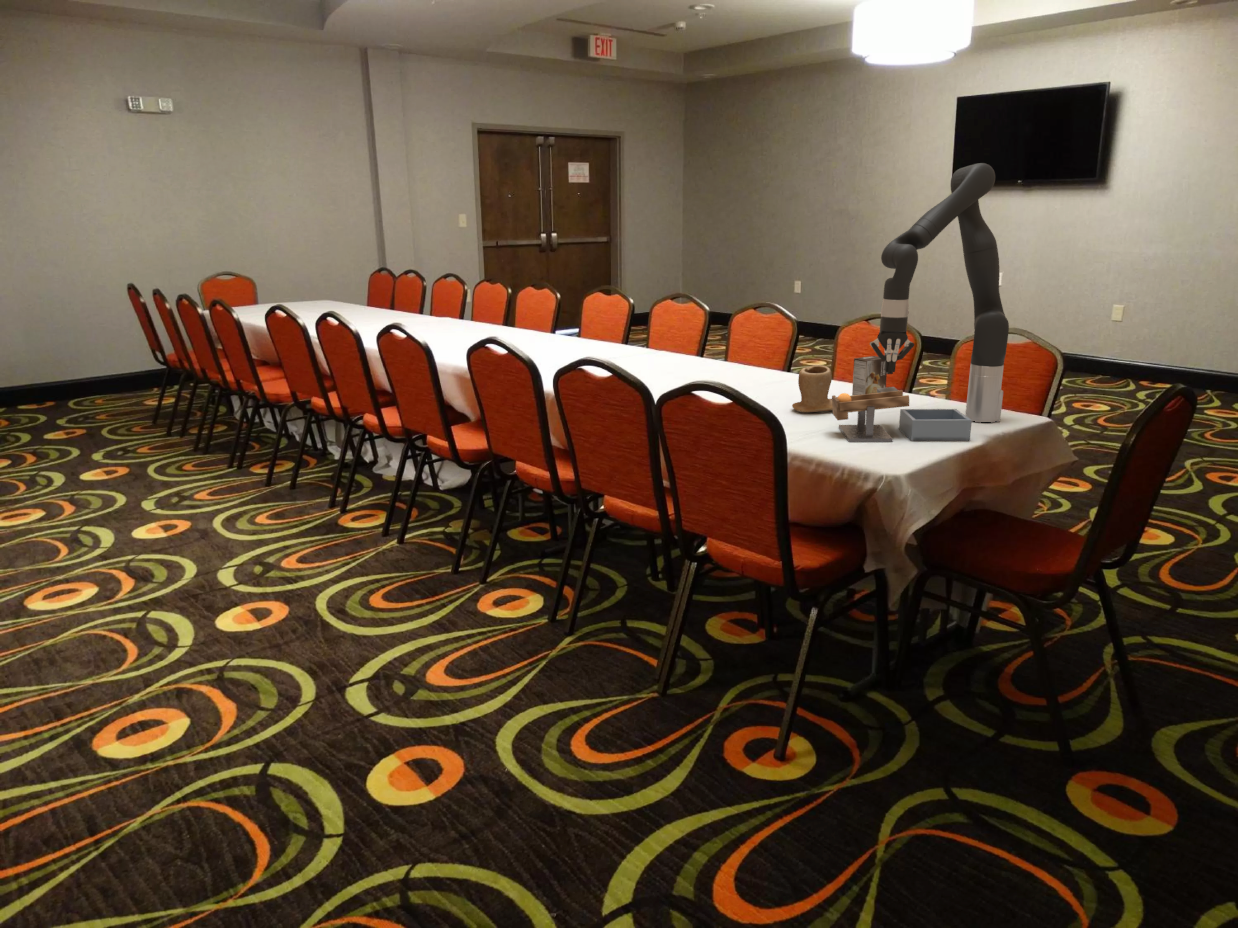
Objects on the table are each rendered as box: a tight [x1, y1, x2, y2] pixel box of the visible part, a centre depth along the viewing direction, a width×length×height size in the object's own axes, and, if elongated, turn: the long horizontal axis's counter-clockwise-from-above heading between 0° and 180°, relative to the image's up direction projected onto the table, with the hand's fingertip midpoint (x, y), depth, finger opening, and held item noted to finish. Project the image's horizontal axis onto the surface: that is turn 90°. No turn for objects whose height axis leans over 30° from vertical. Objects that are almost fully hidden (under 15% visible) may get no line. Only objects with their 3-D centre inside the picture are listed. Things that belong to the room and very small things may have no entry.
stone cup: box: [791, 364, 833, 413], centre depth 271 cm, size 15×12×15 cm
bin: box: [898, 408, 973, 442], centre depth 241 cm, size 16×14×6 cm
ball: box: [837, 392, 851, 402], centre depth 241 cm, size 4×4×4 cm
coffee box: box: [851, 355, 888, 396], centre depth 277 cm, size 9×6×16 cm
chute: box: [831, 386, 910, 421], centre depth 245 cm, size 20×18×6 cm
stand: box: [838, 406, 893, 443], centre depth 242 cm, size 12×16×10 cm
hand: (889, 373), depth 248 cm, fingers closed
